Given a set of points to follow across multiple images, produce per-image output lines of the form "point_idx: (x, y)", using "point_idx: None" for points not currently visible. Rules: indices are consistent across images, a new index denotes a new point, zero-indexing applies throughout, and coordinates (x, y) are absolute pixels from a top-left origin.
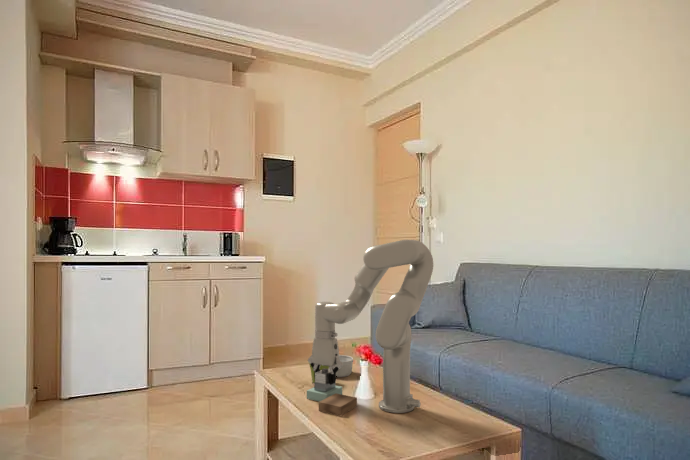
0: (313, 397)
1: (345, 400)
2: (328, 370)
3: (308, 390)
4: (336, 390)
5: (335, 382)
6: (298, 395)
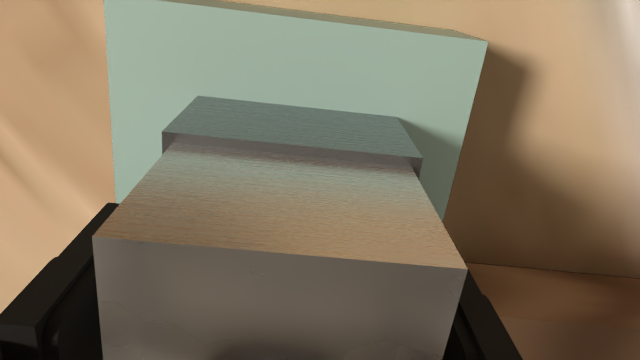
0: None
1: None
2: (299, 344)
3: None
4: (445, 197)
5: (411, 140)
6: (17, 258)
